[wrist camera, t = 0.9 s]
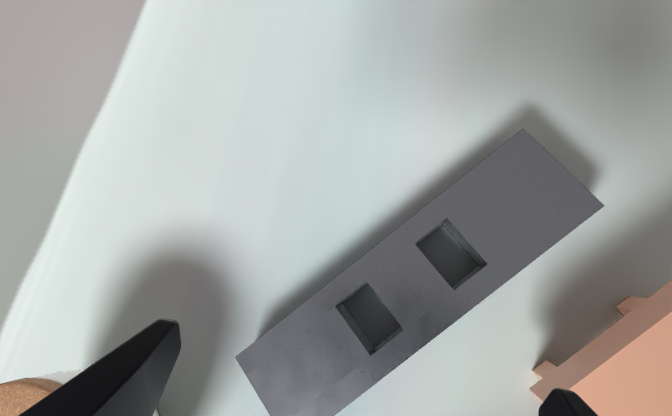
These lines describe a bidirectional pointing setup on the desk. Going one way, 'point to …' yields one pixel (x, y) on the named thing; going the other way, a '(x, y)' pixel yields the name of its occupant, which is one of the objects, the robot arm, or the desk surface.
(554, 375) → the peach rectangular block
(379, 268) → the rail
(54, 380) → the lidded jar
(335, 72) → the desk surface
